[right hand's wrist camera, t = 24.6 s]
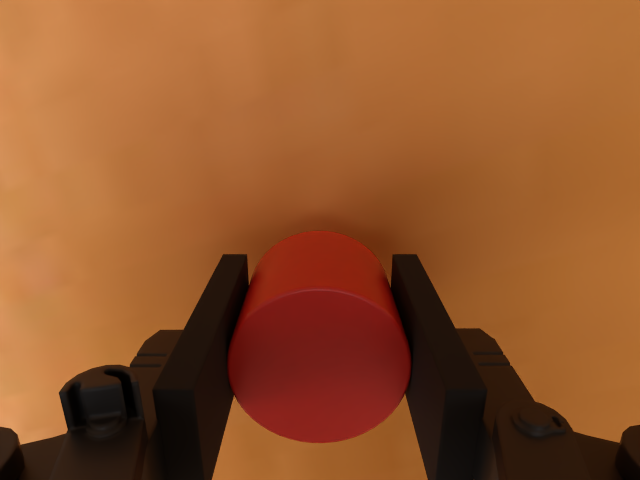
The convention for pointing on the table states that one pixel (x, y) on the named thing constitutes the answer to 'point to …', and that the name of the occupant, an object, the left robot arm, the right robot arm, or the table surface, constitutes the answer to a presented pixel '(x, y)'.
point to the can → (319, 341)
